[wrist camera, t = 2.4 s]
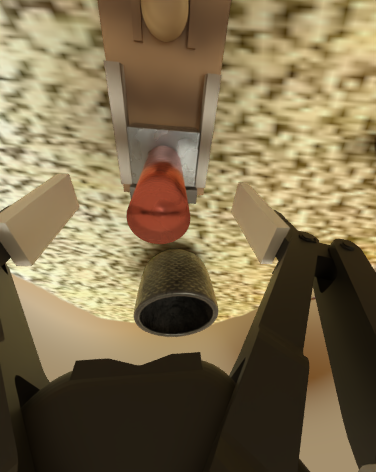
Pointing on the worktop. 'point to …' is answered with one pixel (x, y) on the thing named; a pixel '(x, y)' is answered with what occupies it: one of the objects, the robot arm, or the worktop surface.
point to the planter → (175, 295)
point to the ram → (161, 180)
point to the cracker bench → (164, 76)
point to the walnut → (165, 17)
